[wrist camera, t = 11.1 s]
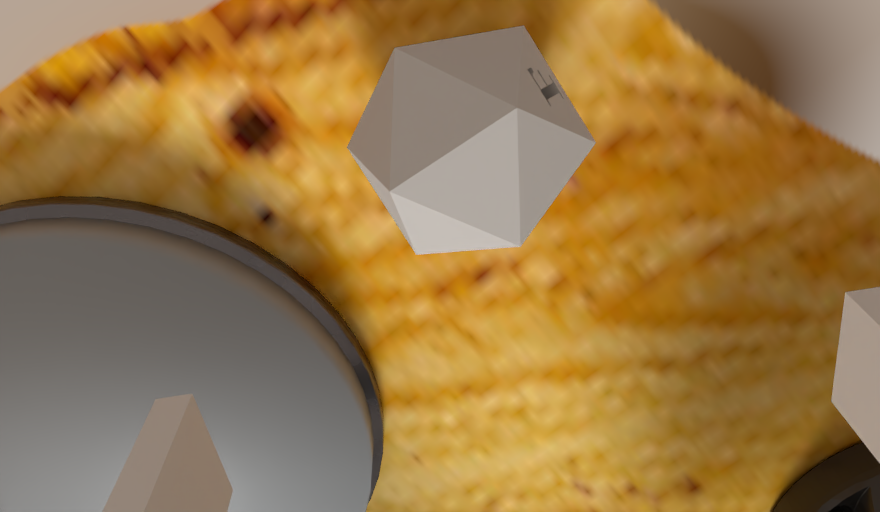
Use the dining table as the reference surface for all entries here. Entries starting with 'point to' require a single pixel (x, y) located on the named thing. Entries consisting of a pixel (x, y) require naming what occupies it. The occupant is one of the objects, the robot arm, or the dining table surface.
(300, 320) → the turntable
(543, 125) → the die
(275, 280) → the turntable base
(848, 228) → the dining table surface
